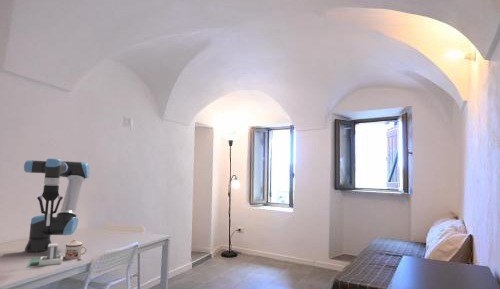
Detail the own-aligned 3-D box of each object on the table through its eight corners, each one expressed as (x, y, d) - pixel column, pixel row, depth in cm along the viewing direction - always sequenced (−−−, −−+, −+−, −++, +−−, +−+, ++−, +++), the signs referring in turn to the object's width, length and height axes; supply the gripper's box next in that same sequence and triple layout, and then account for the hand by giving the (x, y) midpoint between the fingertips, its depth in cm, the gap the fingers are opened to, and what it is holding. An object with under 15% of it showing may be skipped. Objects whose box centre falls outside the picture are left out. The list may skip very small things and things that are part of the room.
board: (31, 260, 187) (32, 254, 187) (62, 258, 194) (63, 252, 194) (26, 269, 171) (26, 263, 171) (60, 266, 178) (60, 260, 178)
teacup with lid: (62, 260, 188) (64, 241, 189) (66, 256, 197) (68, 237, 198) (84, 260, 191) (85, 241, 192) (87, 256, 200) (89, 237, 201)
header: (40, 261, 182) (41, 256, 182) (62, 259, 187) (63, 255, 187) (38, 265, 175) (39, 260, 175) (61, 263, 180) (62, 258, 180)
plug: (47, 261, 182) (48, 243, 183) (56, 260, 184) (57, 243, 185) (46, 263, 178) (48, 245, 179) (55, 263, 180) (57, 245, 181)
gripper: (37, 185, 178) (33, 227, 177) (64, 185, 185) (60, 226, 183) (39, 184, 185) (35, 224, 184) (64, 184, 191) (61, 223, 190)
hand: (47, 225), depth 183 cm, fingers closed
